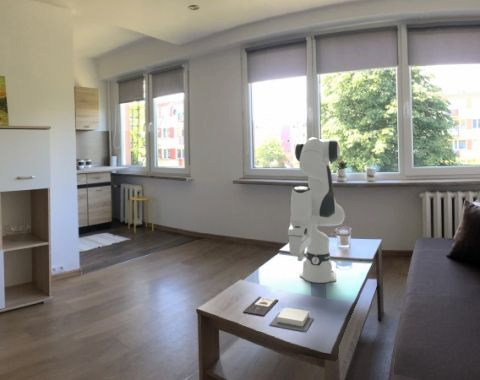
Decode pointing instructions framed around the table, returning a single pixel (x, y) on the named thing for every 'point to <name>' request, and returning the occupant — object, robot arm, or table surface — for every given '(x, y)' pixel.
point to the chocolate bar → (261, 306)
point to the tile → (293, 316)
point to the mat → (290, 326)
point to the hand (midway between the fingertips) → (300, 260)
